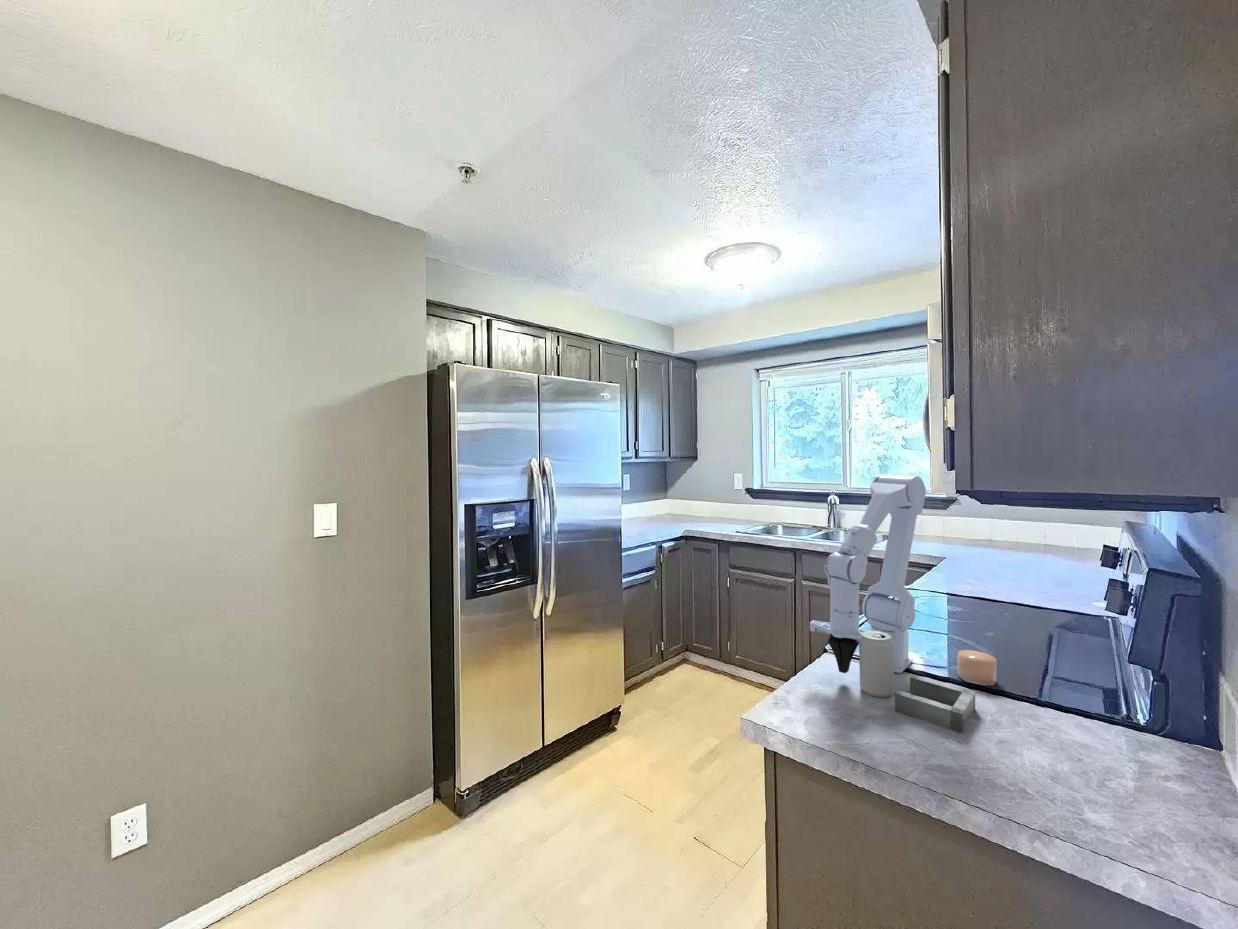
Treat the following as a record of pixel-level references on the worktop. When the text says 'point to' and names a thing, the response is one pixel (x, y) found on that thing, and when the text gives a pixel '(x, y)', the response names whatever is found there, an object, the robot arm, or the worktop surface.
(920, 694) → the grey piece
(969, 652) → the peach cylinder plug
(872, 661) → the beverage can
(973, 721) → the worktop surface
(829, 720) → the worktop surface
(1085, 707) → the worktop surface
